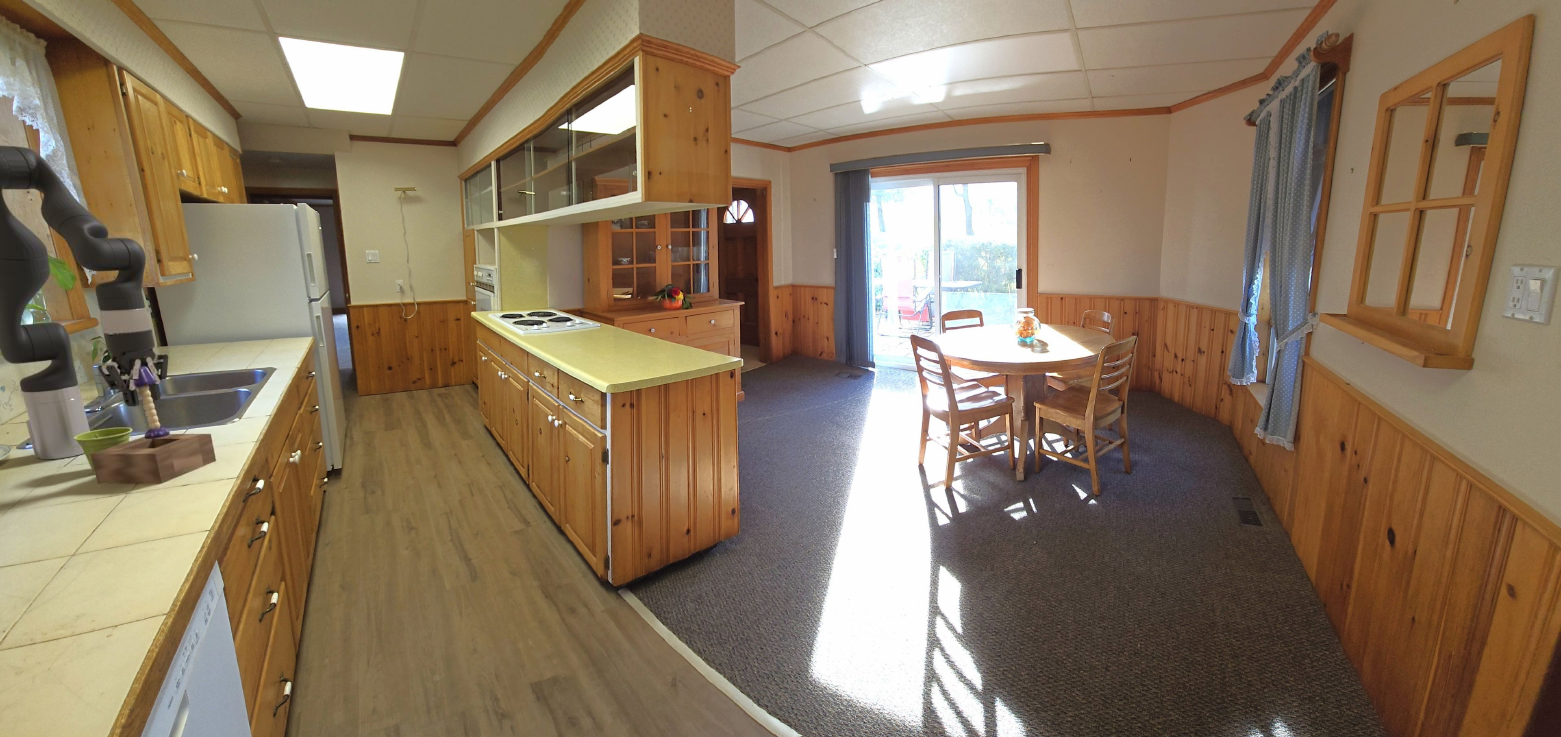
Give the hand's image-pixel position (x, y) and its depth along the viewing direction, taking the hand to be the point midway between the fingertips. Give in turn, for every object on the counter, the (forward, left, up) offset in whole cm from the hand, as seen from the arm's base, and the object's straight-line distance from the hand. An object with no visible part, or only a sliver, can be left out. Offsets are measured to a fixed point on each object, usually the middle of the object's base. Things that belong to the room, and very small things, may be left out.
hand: (143, 402), depth 141 cm
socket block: (0, 0, -17) cm, 17 cm away
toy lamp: (+1, 0, -8) cm, 9 cm away
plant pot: (-14, +3, -17) cm, 22 cm away
